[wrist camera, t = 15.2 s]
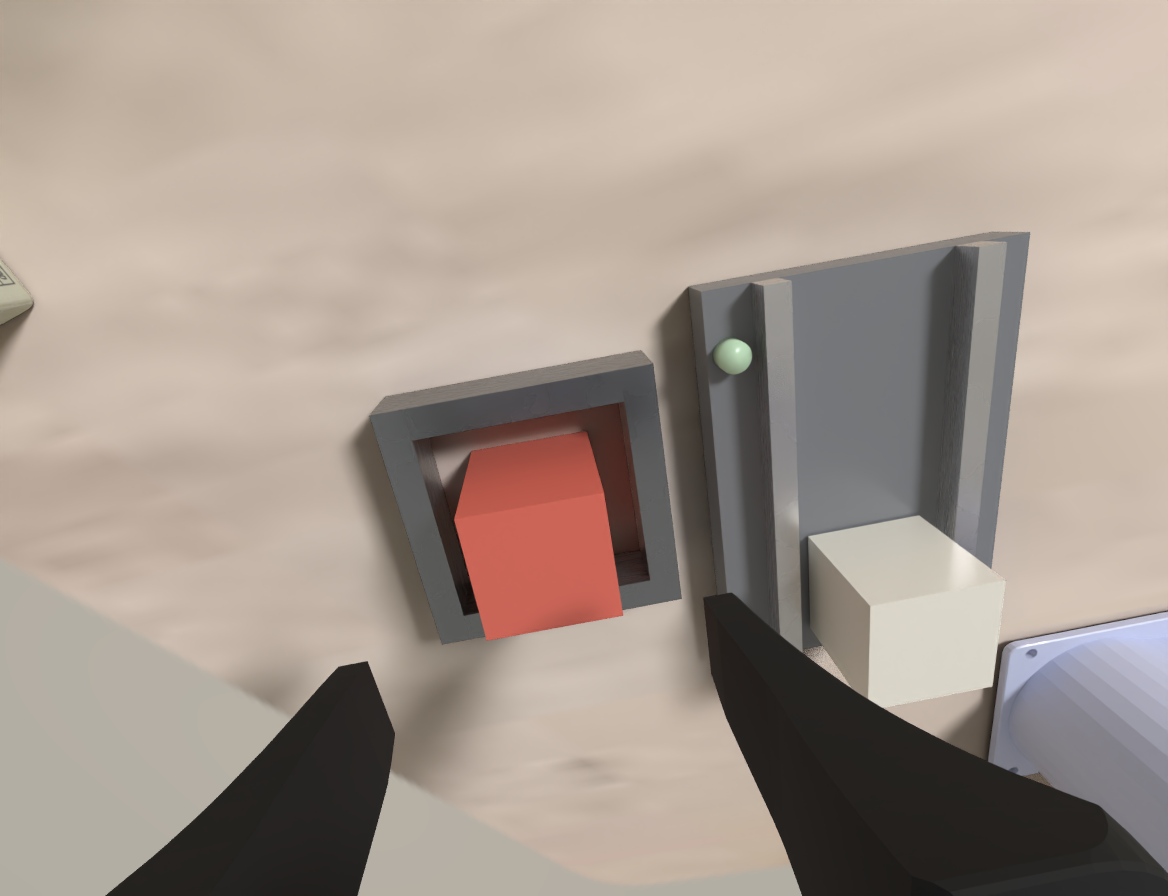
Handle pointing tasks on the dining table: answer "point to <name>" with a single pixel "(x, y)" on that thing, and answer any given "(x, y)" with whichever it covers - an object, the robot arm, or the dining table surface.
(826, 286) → the breaker panel
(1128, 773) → the robot arm
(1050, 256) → the dining table surface
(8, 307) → the skincare box
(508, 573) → the red block
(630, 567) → the grey square frame
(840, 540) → the block
